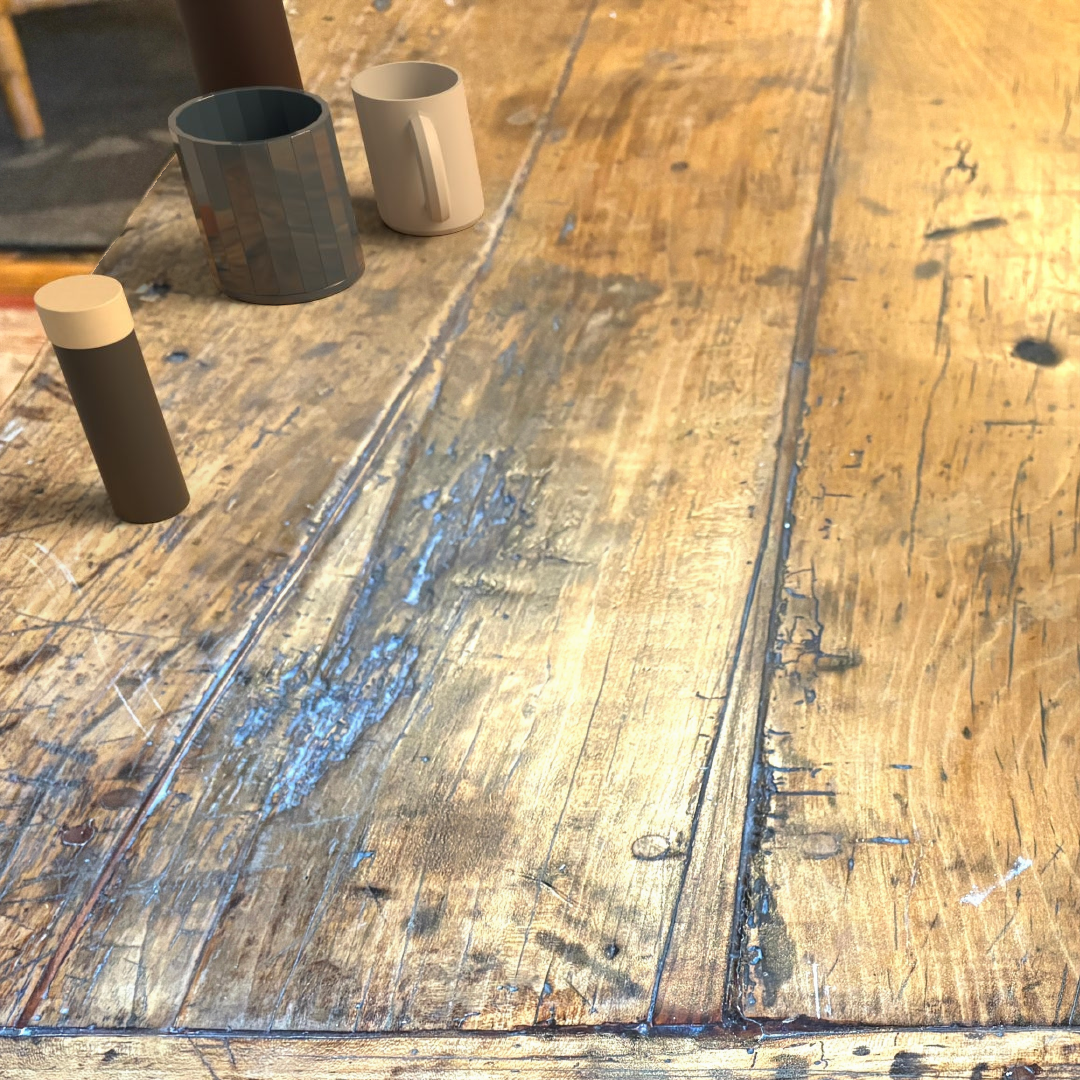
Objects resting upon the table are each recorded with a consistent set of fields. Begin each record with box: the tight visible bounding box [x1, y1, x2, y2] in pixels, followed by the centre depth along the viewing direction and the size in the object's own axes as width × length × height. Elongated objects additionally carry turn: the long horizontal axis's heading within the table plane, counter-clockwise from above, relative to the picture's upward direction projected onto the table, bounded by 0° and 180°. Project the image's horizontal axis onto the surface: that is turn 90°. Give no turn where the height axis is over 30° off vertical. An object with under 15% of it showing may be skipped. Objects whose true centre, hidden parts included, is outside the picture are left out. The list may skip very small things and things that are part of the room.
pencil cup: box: [167, 86, 366, 305], centre depth 116 cm, size 10×10×10 cm
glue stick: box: [33, 274, 191, 524], centre depth 95 cm, size 4×4×12 cm
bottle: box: [175, 0, 305, 96], centre depth 123 cm, size 7×7×20 cm
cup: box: [350, 60, 486, 237], centre depth 122 cm, size 7×10×9 cm
